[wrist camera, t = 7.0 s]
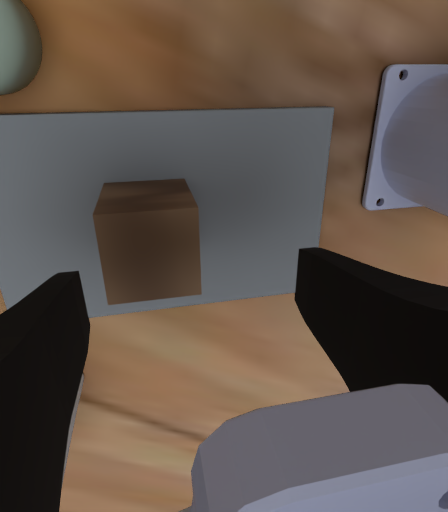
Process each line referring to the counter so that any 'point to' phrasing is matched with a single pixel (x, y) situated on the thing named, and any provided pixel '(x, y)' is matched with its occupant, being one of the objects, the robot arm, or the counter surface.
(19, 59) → the sage cylinder
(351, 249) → the counter surface
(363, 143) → the counter surface
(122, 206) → the walnut block
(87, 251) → the slate mat
